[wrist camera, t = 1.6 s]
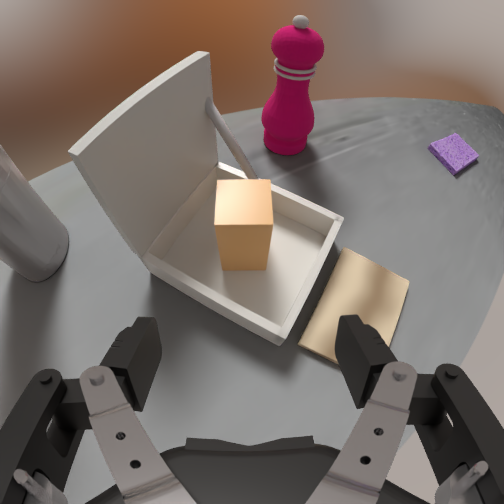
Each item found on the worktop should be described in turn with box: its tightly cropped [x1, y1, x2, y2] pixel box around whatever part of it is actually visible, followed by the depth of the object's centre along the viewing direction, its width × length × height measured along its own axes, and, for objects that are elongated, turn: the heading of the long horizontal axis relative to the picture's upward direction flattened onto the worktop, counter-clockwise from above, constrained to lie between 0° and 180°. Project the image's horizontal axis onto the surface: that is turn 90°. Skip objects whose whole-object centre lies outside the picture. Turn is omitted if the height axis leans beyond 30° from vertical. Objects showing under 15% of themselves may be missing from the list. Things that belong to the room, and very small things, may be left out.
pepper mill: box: [262, 15, 324, 155], centre depth 31 cm, size 7×7×20 cm
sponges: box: [428, 133, 479, 175], centre depth 42 cm, size 7×13×2 cm, turn 121°
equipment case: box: [68, 51, 344, 346], centre depth 24 cm, size 17×14×18 cm
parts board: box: [297, 247, 410, 365], centre depth 29 cm, size 9×12×1 cm
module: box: [214, 179, 273, 271], centre depth 27 cm, size 4×4×9 cm
